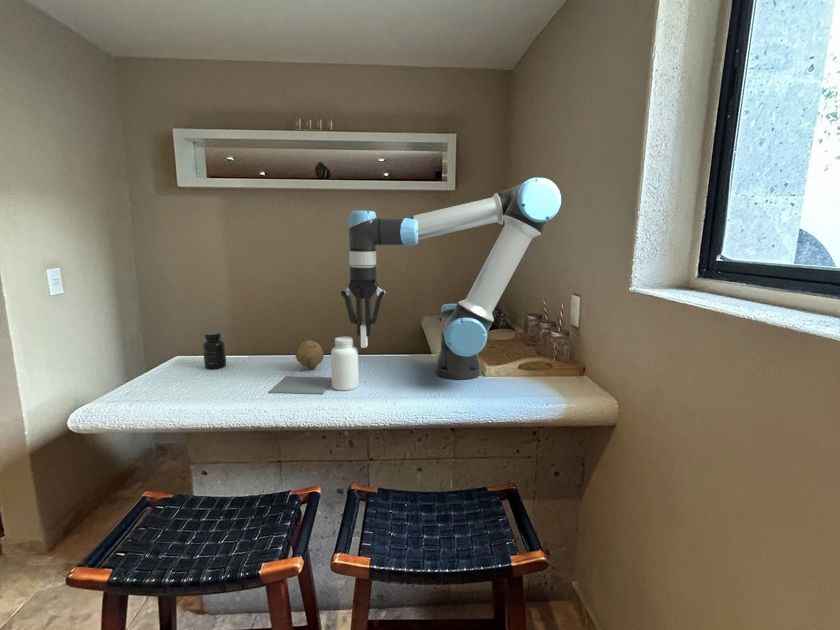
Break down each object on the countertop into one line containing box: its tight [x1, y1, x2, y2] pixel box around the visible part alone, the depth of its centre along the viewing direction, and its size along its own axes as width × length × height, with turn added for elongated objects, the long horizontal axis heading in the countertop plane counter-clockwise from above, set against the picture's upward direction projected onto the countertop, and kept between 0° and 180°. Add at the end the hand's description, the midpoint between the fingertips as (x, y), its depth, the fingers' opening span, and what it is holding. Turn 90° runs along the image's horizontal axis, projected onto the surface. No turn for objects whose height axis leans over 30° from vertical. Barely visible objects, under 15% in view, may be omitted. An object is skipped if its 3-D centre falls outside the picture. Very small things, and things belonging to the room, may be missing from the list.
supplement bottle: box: [202, 331, 227, 371], centre depth 153 cm, size 7×7×12 cm
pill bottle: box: [330, 335, 360, 391], centre depth 134 cm, size 8×8×15 cm
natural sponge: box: [295, 339, 325, 370], centre depth 151 cm, size 9×9×10 cm
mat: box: [267, 375, 332, 395], centre depth 136 cm, size 16×14×1 cm
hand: (364, 346), depth 133 cm, fingers closed
